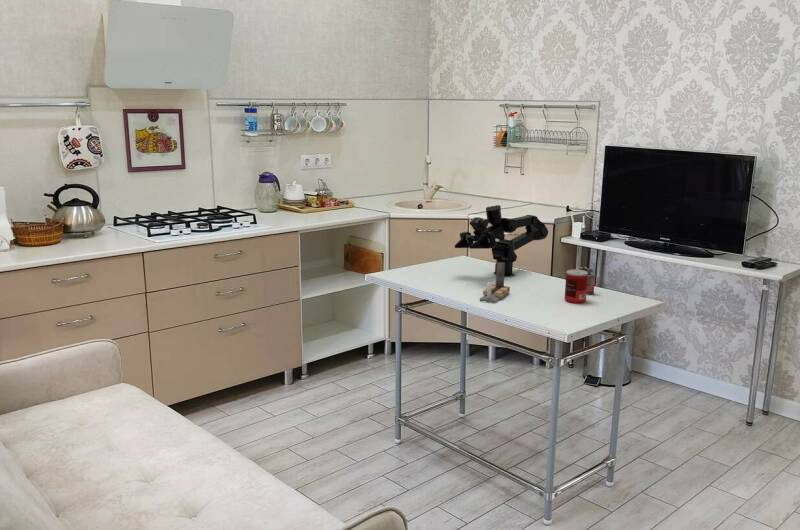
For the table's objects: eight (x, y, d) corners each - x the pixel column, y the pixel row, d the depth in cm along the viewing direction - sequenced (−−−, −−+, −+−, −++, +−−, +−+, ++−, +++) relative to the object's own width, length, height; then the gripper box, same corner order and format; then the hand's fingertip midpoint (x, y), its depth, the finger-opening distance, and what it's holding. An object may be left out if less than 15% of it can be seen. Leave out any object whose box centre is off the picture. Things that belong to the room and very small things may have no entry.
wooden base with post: (492, 288, 271) (493, 261, 269) (509, 290, 268) (510, 263, 266) (482, 294, 262) (483, 266, 260) (500, 297, 259) (502, 269, 257)
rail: (494, 291, 272) (494, 273, 270) (509, 293, 269) (510, 275, 268) (479, 301, 259) (480, 282, 257) (495, 303, 256) (495, 284, 254)
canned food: (586, 299, 263) (588, 270, 260) (584, 304, 255) (587, 275, 253) (565, 297, 265) (567, 268, 263) (563, 302, 258) (565, 273, 255)
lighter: (572, 291, 273) (574, 266, 270) (576, 290, 275) (578, 265, 273) (591, 295, 267) (593, 270, 265) (595, 294, 270) (597, 268, 267)
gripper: (470, 215, 293) (442, 228, 285) (500, 214, 278) (471, 227, 270) (477, 240, 296) (449, 253, 288) (507, 241, 280) (479, 255, 272)
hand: (462, 247), depth 280 cm, fingers open, 9 cm apart
